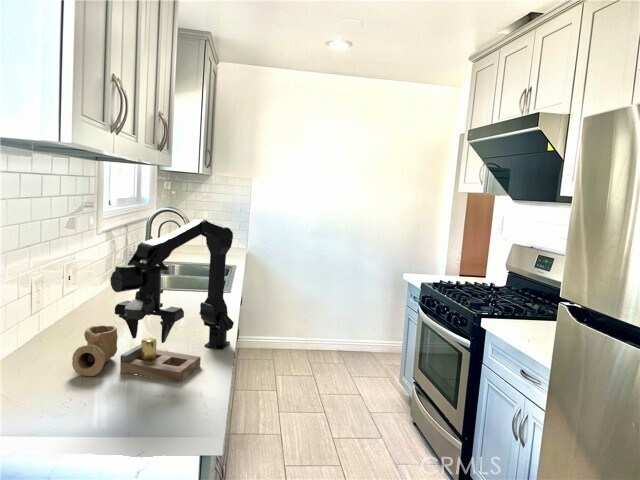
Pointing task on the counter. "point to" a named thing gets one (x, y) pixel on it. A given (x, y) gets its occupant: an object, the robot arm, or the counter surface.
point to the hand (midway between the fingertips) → (148, 340)
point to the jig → (160, 364)
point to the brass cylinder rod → (148, 349)
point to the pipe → (95, 350)
